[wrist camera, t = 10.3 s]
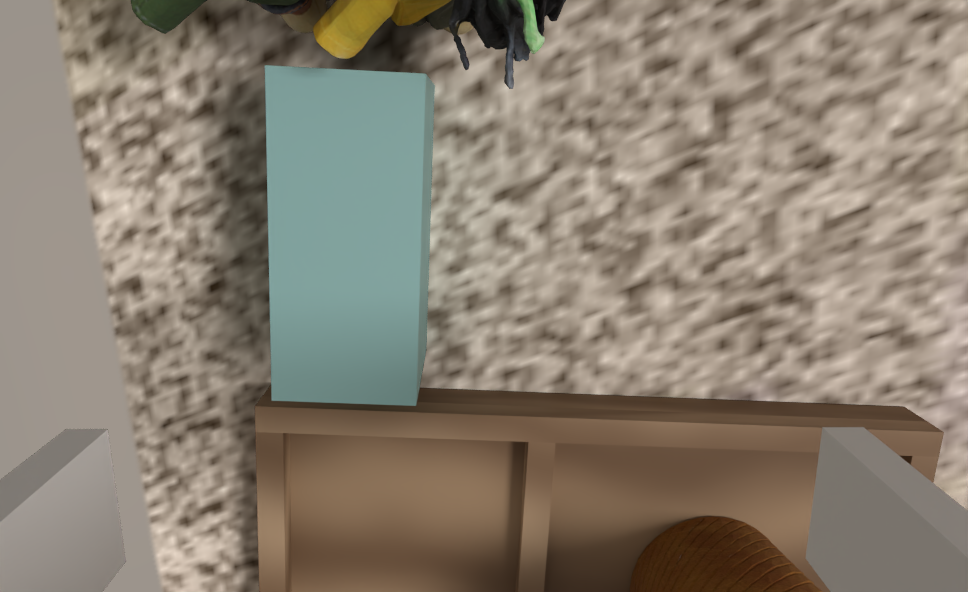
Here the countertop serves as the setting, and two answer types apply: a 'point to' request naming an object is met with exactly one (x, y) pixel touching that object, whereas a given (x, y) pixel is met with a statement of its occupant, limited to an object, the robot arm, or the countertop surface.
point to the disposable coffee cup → (716, 561)
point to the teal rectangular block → (348, 233)
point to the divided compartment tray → (533, 485)
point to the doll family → (369, 3)
